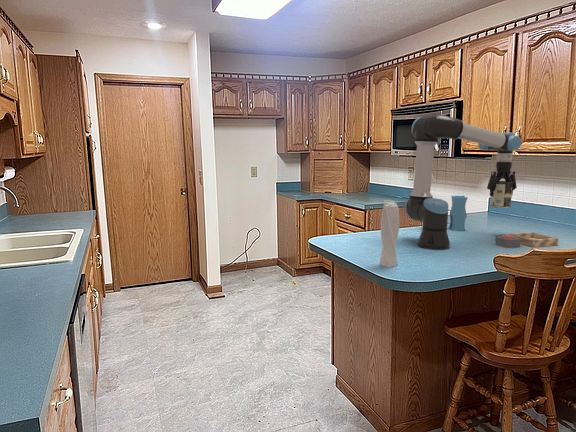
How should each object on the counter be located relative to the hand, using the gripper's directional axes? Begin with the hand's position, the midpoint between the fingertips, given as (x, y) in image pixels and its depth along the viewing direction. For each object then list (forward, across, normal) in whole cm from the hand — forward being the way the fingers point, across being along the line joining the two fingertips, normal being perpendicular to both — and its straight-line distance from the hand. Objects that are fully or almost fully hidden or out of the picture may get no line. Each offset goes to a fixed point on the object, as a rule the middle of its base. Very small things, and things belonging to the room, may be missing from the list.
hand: (500, 201), depth 237 cm
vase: (+19, -12, +20) cm, 30 cm away
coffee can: (+3, 0, 0) cm, 3 cm away
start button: (+18, -13, -22) cm, 31 cm away
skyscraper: (+20, -88, -39) cm, 98 cm away
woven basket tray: (+19, +4, -20) cm, 28 cm away
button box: (+19, -13, -22) cm, 32 cm away
